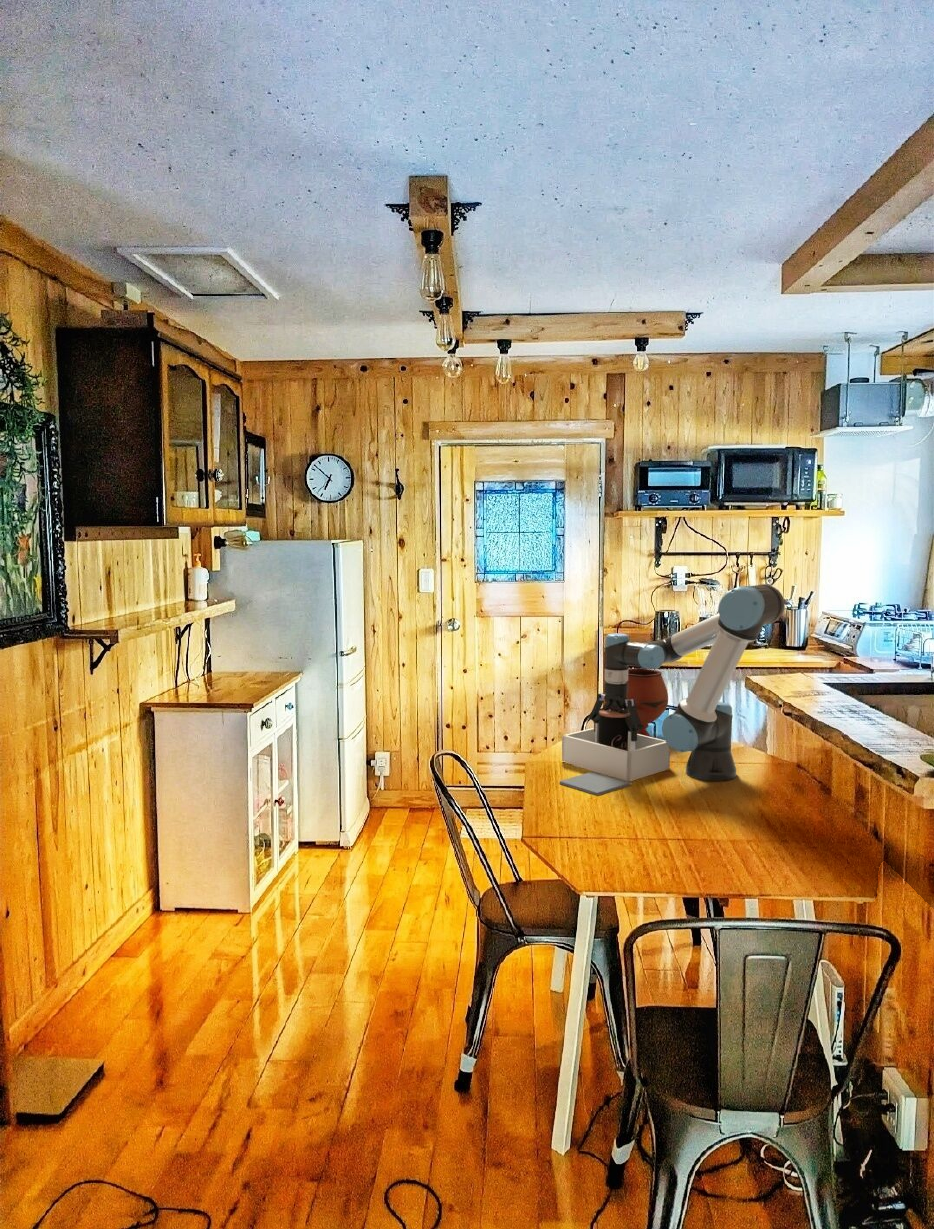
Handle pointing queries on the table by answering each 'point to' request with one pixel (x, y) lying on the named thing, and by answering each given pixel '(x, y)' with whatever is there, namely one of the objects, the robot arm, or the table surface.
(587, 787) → the mat
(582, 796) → the table surface
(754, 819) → the table surface
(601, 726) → the coffee jar
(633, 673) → the goblet
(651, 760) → the crate
